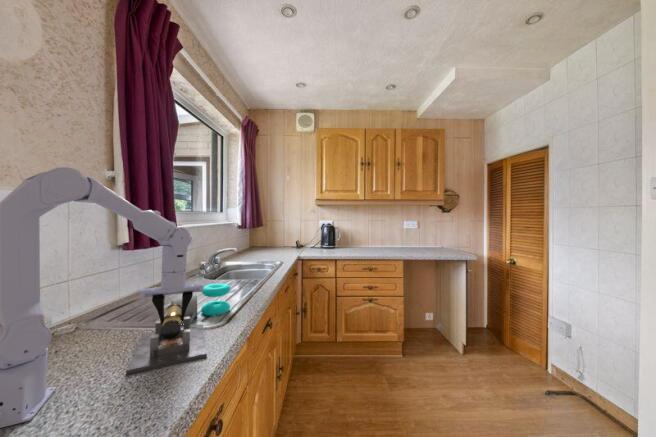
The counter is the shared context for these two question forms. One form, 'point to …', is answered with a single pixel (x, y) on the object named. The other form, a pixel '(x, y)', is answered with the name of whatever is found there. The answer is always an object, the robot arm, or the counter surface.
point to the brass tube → (172, 322)
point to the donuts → (215, 306)
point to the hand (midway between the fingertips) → (172, 321)
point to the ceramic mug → (190, 309)
